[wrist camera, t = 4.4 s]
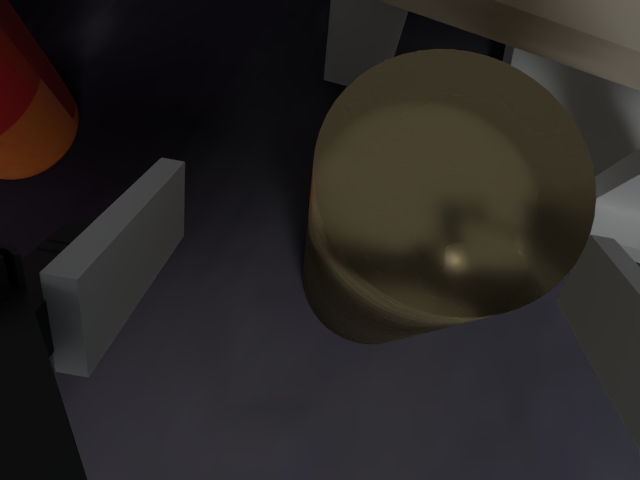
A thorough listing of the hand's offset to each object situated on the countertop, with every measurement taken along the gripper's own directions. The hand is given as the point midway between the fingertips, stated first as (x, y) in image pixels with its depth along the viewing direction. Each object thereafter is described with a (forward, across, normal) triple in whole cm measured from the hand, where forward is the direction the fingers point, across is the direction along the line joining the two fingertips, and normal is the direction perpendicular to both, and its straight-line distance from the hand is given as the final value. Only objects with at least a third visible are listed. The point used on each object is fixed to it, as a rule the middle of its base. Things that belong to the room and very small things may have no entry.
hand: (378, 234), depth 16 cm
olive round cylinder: (+4, +1, -4) cm, 6 cm away
